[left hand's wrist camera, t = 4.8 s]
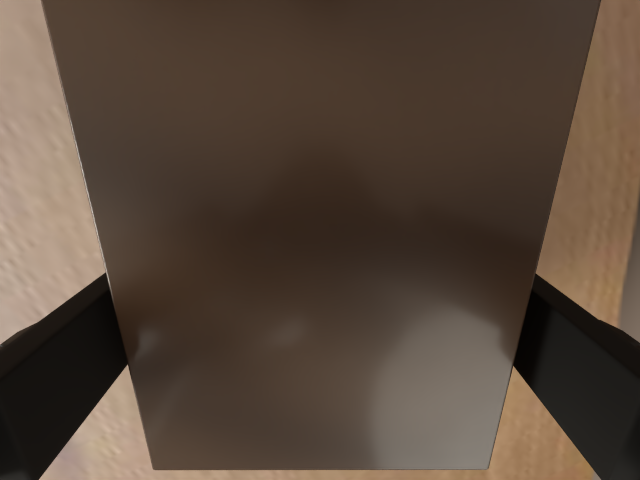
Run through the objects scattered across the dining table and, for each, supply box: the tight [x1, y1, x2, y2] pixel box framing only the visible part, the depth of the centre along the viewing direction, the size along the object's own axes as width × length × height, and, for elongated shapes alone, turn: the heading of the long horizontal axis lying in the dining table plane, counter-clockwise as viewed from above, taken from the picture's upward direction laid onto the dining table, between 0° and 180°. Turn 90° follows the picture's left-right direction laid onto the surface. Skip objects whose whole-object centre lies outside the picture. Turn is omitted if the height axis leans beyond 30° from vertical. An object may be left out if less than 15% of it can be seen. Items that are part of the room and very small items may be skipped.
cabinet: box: [41, 0, 601, 470], centre depth 12 cm, size 17×10×9 cm, turn 0°
